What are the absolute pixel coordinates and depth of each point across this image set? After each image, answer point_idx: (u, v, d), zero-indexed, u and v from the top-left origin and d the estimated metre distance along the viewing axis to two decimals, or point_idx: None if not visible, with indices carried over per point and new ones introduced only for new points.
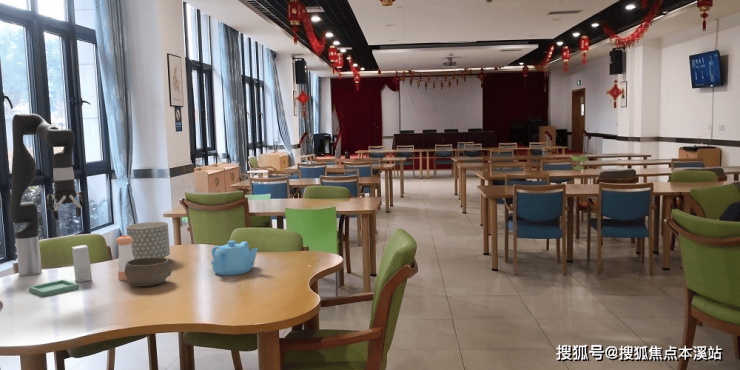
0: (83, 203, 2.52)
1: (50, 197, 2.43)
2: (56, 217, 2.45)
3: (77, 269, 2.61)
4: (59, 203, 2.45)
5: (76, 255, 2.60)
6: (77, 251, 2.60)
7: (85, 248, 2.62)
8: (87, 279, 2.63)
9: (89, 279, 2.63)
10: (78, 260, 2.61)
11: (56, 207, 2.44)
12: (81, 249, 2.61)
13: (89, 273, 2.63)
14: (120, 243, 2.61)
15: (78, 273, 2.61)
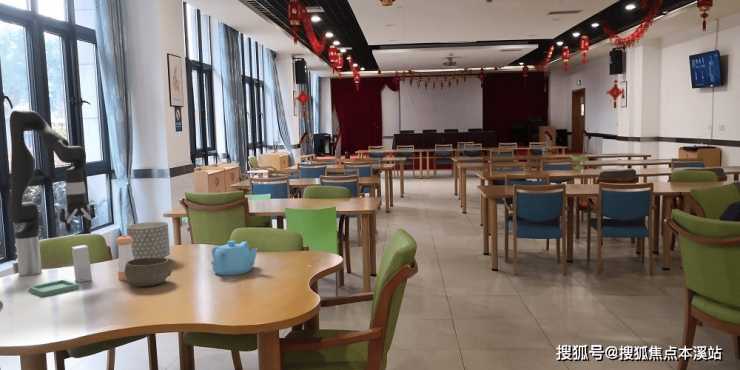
0: (93, 215, 2.67)
1: (63, 210, 2.57)
2: (69, 229, 2.60)
3: (77, 269, 2.61)
4: (71, 216, 2.59)
5: (76, 255, 2.60)
6: (77, 251, 2.60)
7: (85, 248, 2.62)
8: (87, 279, 2.63)
9: (89, 279, 2.63)
10: (78, 260, 2.61)
11: (68, 220, 2.59)
12: (81, 249, 2.61)
13: (89, 273, 2.63)
14: (120, 243, 2.61)
15: (78, 273, 2.61)
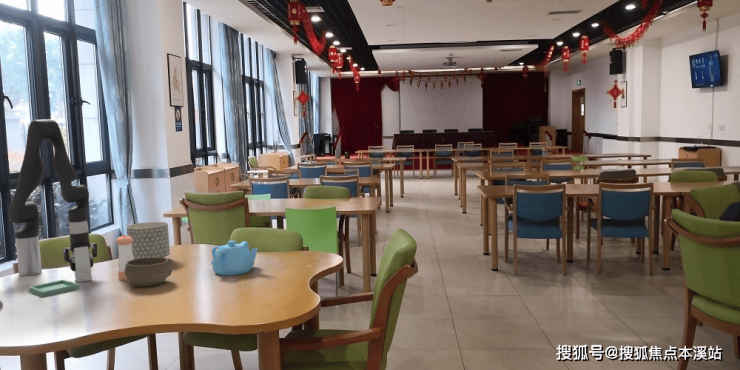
0: (95, 254, 2.68)
1: (66, 251, 2.59)
2: (73, 269, 2.62)
3: (77, 269, 2.61)
4: None
5: (76, 255, 2.60)
6: (77, 251, 2.60)
7: (85, 248, 2.62)
8: (87, 279, 2.63)
9: (89, 279, 2.63)
10: (78, 260, 2.61)
11: (73, 259, 2.61)
12: (81, 249, 2.61)
13: (89, 273, 2.63)
14: (120, 243, 2.61)
15: (78, 273, 2.61)
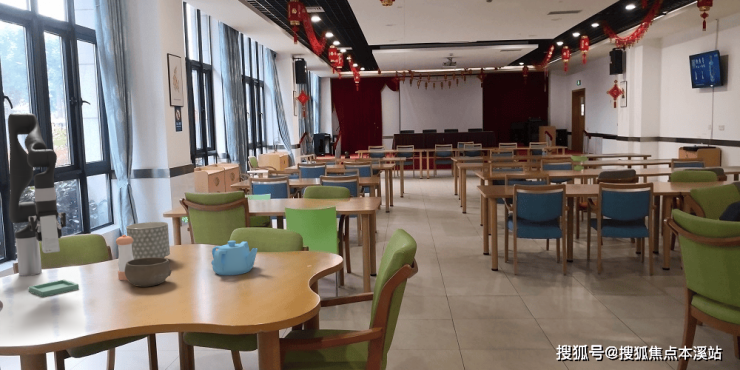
0: (64, 224, 2.51)
1: (32, 219, 2.42)
2: (39, 239, 2.44)
3: (43, 239, 2.43)
4: None
5: (42, 224, 2.43)
6: (43, 219, 2.43)
7: (52, 217, 2.45)
8: (54, 250, 2.46)
9: (57, 250, 2.46)
10: (45, 230, 2.43)
11: (39, 229, 2.44)
12: (48, 218, 2.44)
13: (57, 244, 2.46)
14: (120, 243, 2.61)
15: (44, 243, 2.43)
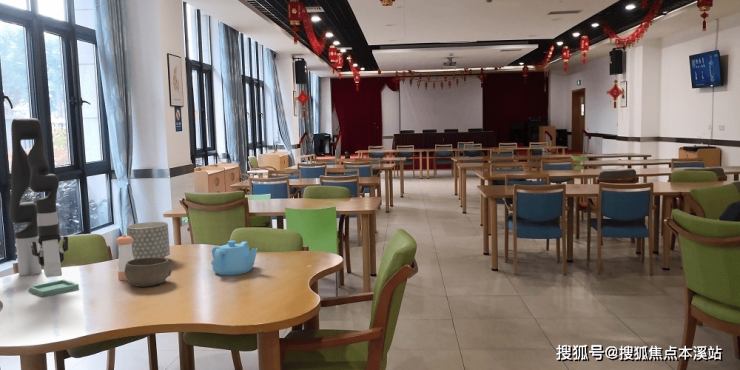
0: (66, 248, 2.52)
1: (34, 244, 2.42)
2: (42, 263, 2.45)
3: (46, 263, 2.44)
4: None
5: (45, 248, 2.44)
6: (45, 244, 2.44)
7: (54, 241, 2.46)
8: (57, 274, 2.46)
9: (59, 274, 2.47)
10: (47, 254, 2.44)
11: (41, 253, 2.45)
12: (50, 242, 2.45)
13: (59, 268, 2.47)
14: (120, 243, 2.61)
15: (47, 268, 2.44)
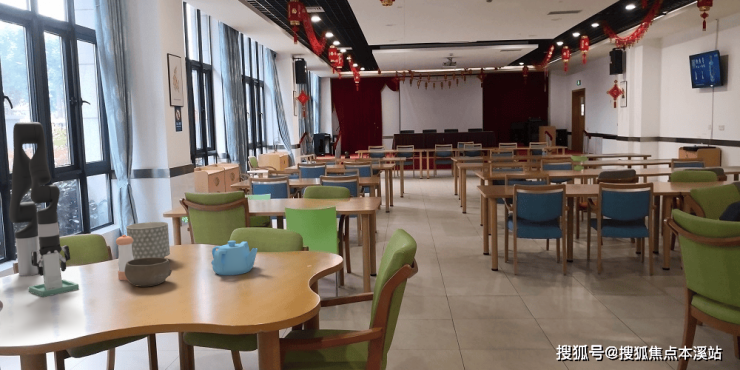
0: (68, 257, 2.53)
1: (35, 254, 2.43)
2: (41, 273, 2.45)
3: (47, 277, 2.45)
4: None
5: (45, 262, 2.44)
6: (46, 257, 2.44)
7: (55, 254, 2.46)
8: (57, 287, 2.47)
9: (60, 287, 2.48)
10: (48, 268, 2.45)
11: (41, 263, 2.45)
12: (51, 256, 2.45)
13: (60, 281, 2.47)
14: (120, 243, 2.61)
15: (48, 281, 2.45)
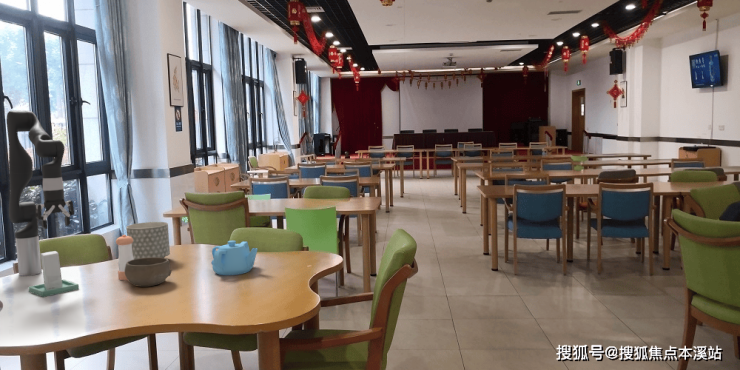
0: (72, 212, 2.57)
1: (39, 207, 2.47)
2: (45, 226, 2.49)
3: (47, 277, 2.45)
4: (48, 213, 2.49)
5: (45, 262, 2.44)
6: (46, 257, 2.44)
7: (55, 254, 2.46)
8: (57, 287, 2.47)
9: (60, 287, 2.48)
10: (48, 268, 2.45)
11: (45, 216, 2.49)
12: (51, 256, 2.45)
13: (60, 281, 2.47)
14: (120, 243, 2.61)
15: (48, 281, 2.45)
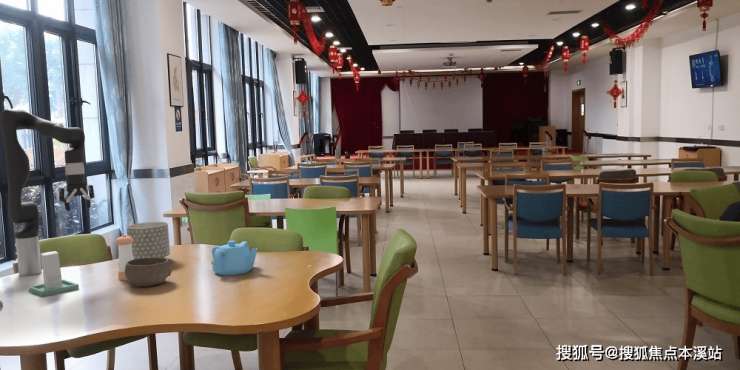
0: (92, 196, 2.72)
1: (62, 190, 2.62)
2: (68, 208, 2.65)
3: (47, 277, 2.45)
4: (71, 195, 2.65)
5: (45, 262, 2.44)
6: (46, 257, 2.44)
7: (55, 254, 2.46)
8: (57, 287, 2.47)
9: (60, 287, 2.48)
10: (48, 268, 2.45)
11: (68, 199, 2.64)
12: (51, 256, 2.45)
13: (60, 281, 2.47)
14: (120, 243, 2.61)
15: (48, 281, 2.45)
